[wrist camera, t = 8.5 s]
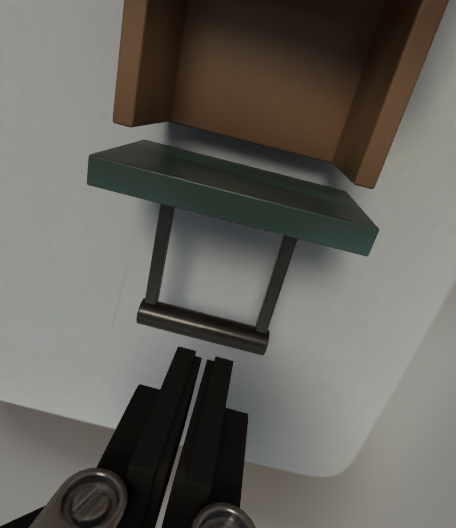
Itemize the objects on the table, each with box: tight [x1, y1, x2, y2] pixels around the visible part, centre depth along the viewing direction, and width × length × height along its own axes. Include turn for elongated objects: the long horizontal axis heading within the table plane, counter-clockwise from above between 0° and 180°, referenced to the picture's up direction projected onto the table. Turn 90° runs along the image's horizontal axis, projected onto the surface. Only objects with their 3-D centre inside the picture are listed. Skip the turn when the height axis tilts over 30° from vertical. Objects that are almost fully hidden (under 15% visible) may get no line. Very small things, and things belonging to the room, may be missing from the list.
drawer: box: [87, 0, 449, 355], centre depth 16 cm, size 21×11×7 cm, turn 167°
